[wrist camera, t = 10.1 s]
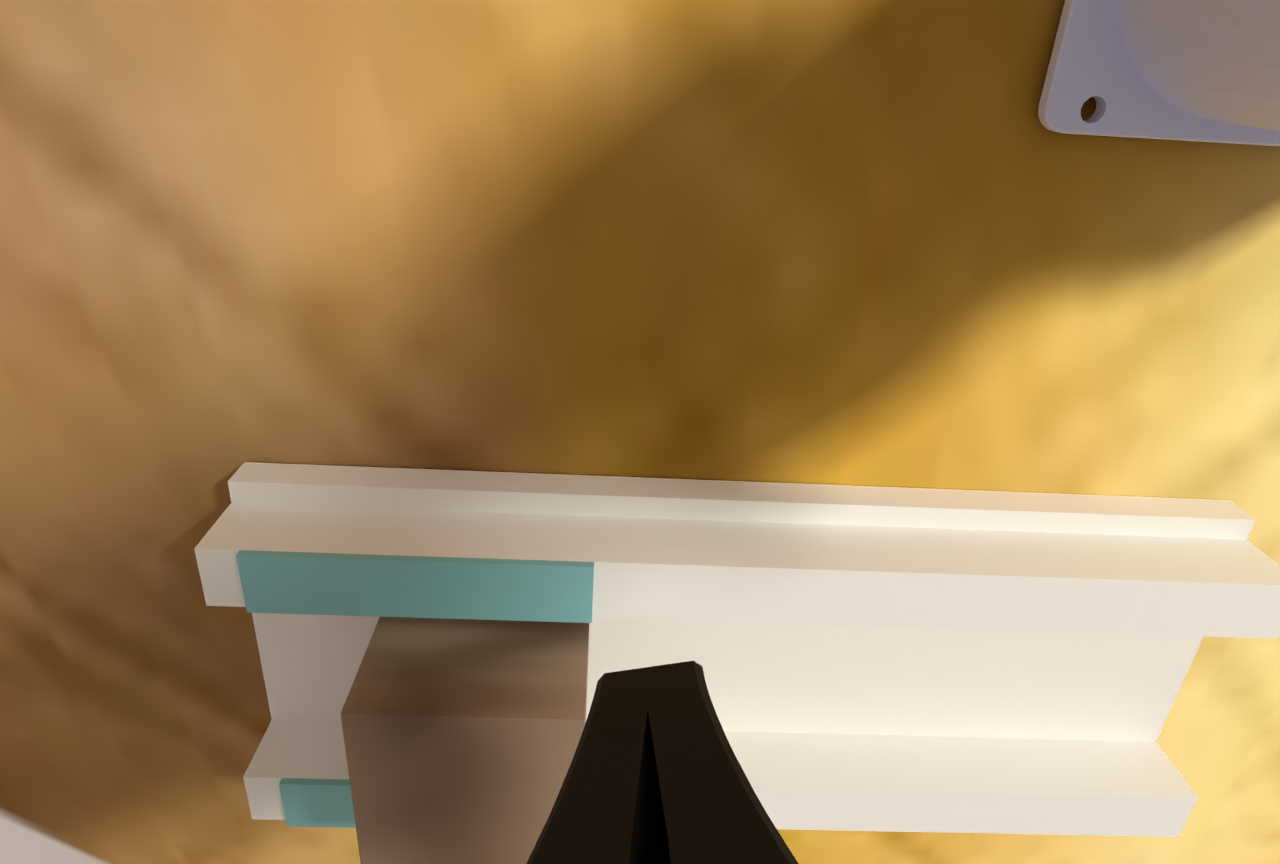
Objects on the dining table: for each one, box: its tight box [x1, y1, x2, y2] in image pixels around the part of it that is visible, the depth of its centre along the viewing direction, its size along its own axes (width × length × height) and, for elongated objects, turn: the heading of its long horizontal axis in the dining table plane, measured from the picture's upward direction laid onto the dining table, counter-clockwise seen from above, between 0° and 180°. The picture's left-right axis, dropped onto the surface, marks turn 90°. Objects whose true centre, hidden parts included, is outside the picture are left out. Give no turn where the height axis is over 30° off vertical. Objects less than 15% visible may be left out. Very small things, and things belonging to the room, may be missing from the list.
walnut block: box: [341, 617, 589, 864], centre depth 20 cm, size 5×5×5 cm
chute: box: [194, 462, 1280, 837], centre depth 22 cm, size 26×10×3 cm, turn 87°
